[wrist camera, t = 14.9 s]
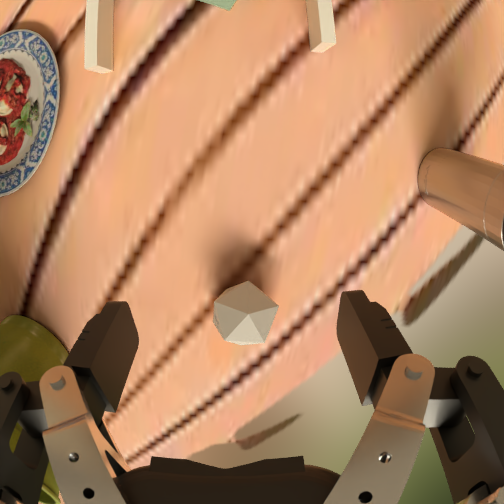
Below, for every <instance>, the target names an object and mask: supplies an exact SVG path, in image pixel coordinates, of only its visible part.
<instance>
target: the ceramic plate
mask: <svg viewBox="0 0 504 504" xmlns="http://www.w3.org/2000/svg"><path fill="white" fill-rule="evenodd" d="M59 100H60V79H59V70H58V64H57V61H56V57H55V55H54V52H53V50H52V48H51V47H50V45H49V43H48V42H47V41H46V40H45V39H44V38H43V37H42V36H41V35H40V34H38V33H36V32H34V31H31V30H27V29H17V30H12V31H9V32H6V33H4V34H2V35H0V197H2V196H6V195H9V194H11V193H13V192H15V191H17V190H18V189H19V188H21V187H22V186H23V185H24V184H25V183H26V182H27V181H28V180H29V179H30V178H31V177H32V176H33V174H34V173H35V171H36V170H37V169H38V167H39V165H40V163H41V162H42V160H43V158H44V156H45V154H46V152H47V149H48V147H49V144H50V141H51V139H52V136H53V132H54V129H55V125H56V120H57V115H58V109H59Z"/></svg>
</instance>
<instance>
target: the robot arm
mask: <svg viewBox="0 0 504 504" xmlns="http://www.w3.org/2000/svg"><path fill="white" fill-rule="evenodd" d="M418 186H419V191H420V194H421V196H422V198H423V199H424V201H425V202H426V203H427V204H428V205H430V206H432V207H433V208H435V209H437V210H439V211H440V212H442V213H444V214H445V215H447V216H449V217H451V218H452V219H454V220H456V221H457V222H459V223H461V224H462V225H464V226H466V227H468V228H469V229H470V230H472V231H474V232H475V233H477V234H478V235H480V236H482V237H483V238H485V239H486V240H488V241H489V242H491V243H492V244H494V245H495V246H497V247H498V248H500V249H501V250H503V251H504V165H502V164H499V163H496V162H493V161H489V160H486V159H483V158H479V157H476V156H473V155H469V154H465V153H462V152H458V151H455V150H451V149H447V148H437V149H434V150H432V151H431V152H430V153H428V154H427V156H426V157H425V158H424V160H423V162H422V163H421V166H420V169H419V174H418ZM337 337H338V341H339V344H340V346H341V349H342V352H343V354H344V356H345V359H346V362H347V365H348V367H349V371H350V373H351V376H352V379H353V381H354V384H355V387H356V390H357V393H358V395H359V399H360V402H361V404H362V406H364V405H370V404H373V406H374V409H375V411H374V413H373V415H372V417H371V419H370V421H369V424H368V426H367V428H366V430H365V432H364V434H363V436H362V438H361V440H360V442H359V444H358V446H357V447H356V449H355V451H354V453H353V455H352V457H351V459H350V460H349V462H348V464H347V466H346V467H345V469H344V471H343V473H342V474H341V475H339V474H337V473H335V472H333V471H331V470H328V469H325V468H321V467H318V466H313V465H304V459H303V456H298V457H288V458H278V459H265V460H261V461H257V462H254V463H250V464H246V465H242V466H238V467H233V468H229V469H221V468H217V467H213V466H209V465H205V464H201V463H198V462H194V461H190V460H187V459H173V458H162V457H153V456H152V457H151V463H150V465H148V466H143V467H139V468H136V469H133V470H131V469H130V467H129V466H128V464H127V463H126V462H125V460H124V459H123V457H122V455H121V453H120V451H119V449H118V447H117V445H116V443H115V441H114V439H113V437H112V435H111V433H110V431H109V429H108V427H107V425H106V423H105V421H104V419H103V418H102V417H103V414H104V411H108V412H115V413H116V410H117V407H118V404H119V401H120V398H121V395H122V392H123V389H124V386H125V383H126V380H127V377H128V374H129V371H130V368H131V366H132V363H133V360H134V357H135V354H136V352H137V349H138V344H139V337H138V332H137V329H136V326H135V323H134V320H133V317H132V314H131V310H130V307H129V305H128V303H127V302H126V301H109V302H107V303H106V304H105V306H104V308H103V309H102V311H101V313H100V314H96V315H95V316H94V317H93V318H92V319H90V320H89V321H88V322H87V324H86V325H85V327H84V329H83V331H82V333H81V334H80V336H79V337H78V340H77V341H76V342H75V344H74V346H73V348H72V349H71V351H70V353H69V355H68V357H67V358H66V360H65V362H64V364H63V366H56V367H53V368H51V369H49V370H48V371H46V372H45V373H44V374H43V376H42V377H41V380H40V381H32V382H25V381H24V380H23V378H22V377H21V376H20V374H19V373H17V372H13V371H12V372H7V373H5V374H3V375H2V376H0V504H38V502H39V498H40V493H41V489H42V485H43V481H44V477H45V474H46V470H47V466H48V463H49V461H50V464H51V467H52V470H53V473H54V476H55V479H56V482H57V485H58V488H59V490H60V493H61V496H62V498H63V501H64V502H65V504H397V503H398V501H399V499H400V497H401V495H402V492H403V490H404V488H405V485H406V483H407V480H408V478H409V475H410V473H411V470H412V468H413V465H414V462H415V459H416V456H417V454H418V451H419V448H420V445H421V442H422V439H423V436H424V432H425V427H429V429H430V432H431V434H432V437H433V440H434V443H435V445H436V448H437V451H438V454H439V457H440V460H441V463H442V466H443V468H444V472H445V475H446V478H447V482H448V485H449V488H450V492H451V495H452V498H453V501H454V504H504V390H503V388H502V386H501V385H500V383H499V382H498V380H497V378H496V377H495V375H494V373H493V372H492V370H491V369H490V367H489V366H488V364H487V363H486V362H485V361H483V360H482V359H480V358H478V357H475V356H466V357H463V358H461V359H460V360H459V361H458V363H457V365H456V367H455V368H437V367H433V365H432V363H431V362H430V361H429V360H428V359H426V358H425V357H423V356H421V355H418V354H413V353H412V351H411V349H410V347H409V346H408V344H407V342H406V341H405V339H404V337H403V336H402V334H401V332H400V331H399V329H398V328H396V325H395V323H394V321H393V320H392V318H391V316H390V315H389V313H388V312H387V310H386V309H385V308H384V307H382V306H381V305H380V304H378V303H377V302H370V301H369V299H368V298H367V296H366V294H365V293H364V291H363V290H355V291H345V292H342V294H341V298H340V306H339V313H338V319H337ZM466 415H467V417H468V419H469V421H470V423H471V425H470V423H469V421H468V419H467V417H466ZM17 422H18V423H19V425H20V426H21V427H22V428H23V429H22V431H21V434H20V436H19V439H18V442H17V444H16V447H15V450H14V453H12V451H11V449H10V444H9V443H10V438H11V436H12V433H13V431H14V428H15V426H16V423H17ZM471 426H472V428H473V430H474V432H473V430H472V428H471ZM474 433H475V434H474Z"/></svg>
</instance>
